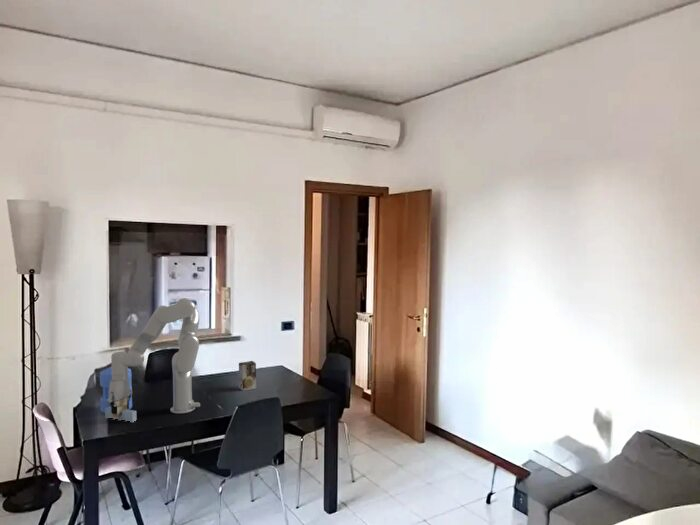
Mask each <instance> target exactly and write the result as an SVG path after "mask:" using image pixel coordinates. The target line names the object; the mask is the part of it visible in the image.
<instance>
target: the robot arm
mask: <svg viewBox="0 0 700 525" xmlns="http://www.w3.org/2000/svg"><path fill="white" fill-rule="evenodd" d="M180 320H182V323H181V328H180V331H179V336H178V338H177V345H178V346H179V349H178V351H177V352H175V353H174V355H172V358H171V366H172V394H173V395H172V398H173V399H172V400H173V401H172V402H173V404H172V405H173V406H172V407H171V408H170V413H173V414H186V413H191V412H193V411H194V410H195V409H196V408H200V407H201V403H200V402H196V401H194V399H193V390H192V389H193V388H192V386H193V385H192V384H193V383H192V380H193V379H192V378H193V376H192V370H193V368H194V367H195V364H196V360H197V355H198V352H199V347H200V341H199V338H198V336H197V335H198V331H199V324H200V313H199V310H198V309H197V306H196V304H195V303H194V302H193V301H192V300H191V299H189V298H185V297H184V298H183V297H182V298H180V299H178V301H177V302H176V303H175V304H172V305H168V306H167V305H160V306H157V308H156V309H155V310H154V311H153V313H152V315H151V316H150V318H149V320H148V321H147V322H146V324H145V326H144V328H143V329H142V330H141V332H140V334H139V335H138V336H137V337H136V338H135V340H134V342H133V343H132V345H131V347H130V348H129V350H128V352H126V351H115V352H113V353H112V354H111V364H110V365H111V366H112V380H111V381H110V386H109V397H108V399H107V402H108V403H109V404H110V406H111V413H112V414H117V406H116V404H117V401H118V400H121V399H123V398H127V409H129V401H130V398H131V395H132V396H133V393H134V392H133V390H132V391H131V390H130V383H129V378H128V374H129V373H128V368H129V367H140V366H141V365H143V364H144V361H145V356H144V354H145V353H146V351H147V349H148V348H149V346H150V345H151V344H152V343H153V342H154V341H156V340H157V339H159V337H160V335H161V333H162V332H163V330H164V328H165V327H166V326H167V324H170V323H174V322H176V321H180ZM114 399H115V400H114ZM111 400H112V401H111ZM113 401H115V402H114V403H113ZM129 410H130V409H129Z"/></svg>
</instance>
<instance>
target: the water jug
mask: <svg viewBox="0 0 700 525" xmlns="http://www.w3.org/2000/svg"><path fill="white" fill-rule="evenodd" d="M128 373H129V374H128V378H129V383H130V390H131V391H133V388H132V376H133V375H132V374H133V373H132V369H131V368H129V367H128ZM111 380H112V365H111V366H109V367H107V368H105V369H103V370H102V371H100V372H99V385H100V387H102V393H103V394H102V396H101V397H100V408H99V409H100V412H101V413H103V414H105V408H107V407H111V406H110V404H109V403H108V402H107V399H108V397H109V386H110V381H111ZM132 396H133V394H132V395H131V398H130V401H129V409H127V410H132V408H133V397H132ZM114 400H115V399H114ZM111 401H112V400H111Z"/></svg>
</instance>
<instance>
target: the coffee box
mask: <svg viewBox="0 0 700 525" xmlns="http://www.w3.org/2000/svg"><path fill="white" fill-rule="evenodd" d="M238 387H239V389H240V391H243V392H245V391H248V390H255V389H257V363H256V362H255V361H253V360H249V361H243V362H242V361H241V362H238Z"/></svg>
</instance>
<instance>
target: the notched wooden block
mask: <svg viewBox="0 0 700 525" xmlns="http://www.w3.org/2000/svg"><path fill="white" fill-rule="evenodd" d="M114 402H115V401H113V403H114ZM116 406H117V414H113V418H114V419H113V420H115V419H118V418H119V413H121V414H122V411H123V410H125V409H127V398H123V399H121V400H118V401H117V404H116Z"/></svg>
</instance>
